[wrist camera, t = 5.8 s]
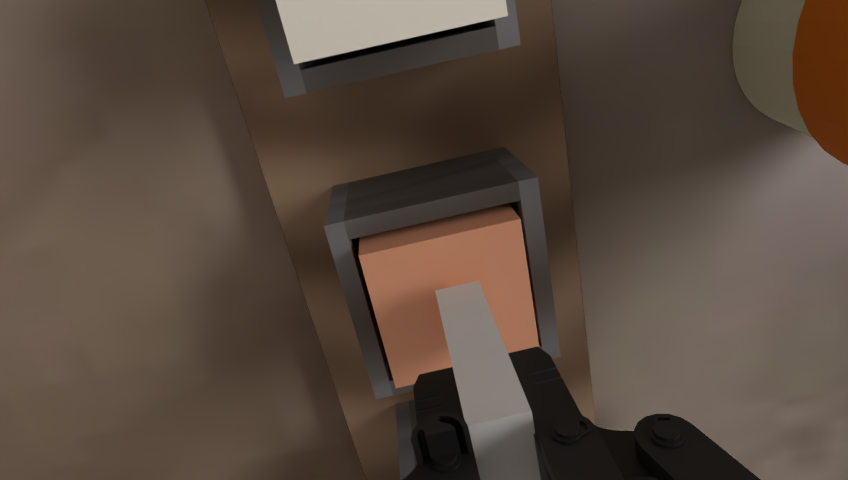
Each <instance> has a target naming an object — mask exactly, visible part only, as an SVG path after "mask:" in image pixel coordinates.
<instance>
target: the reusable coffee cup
mask: <svg viewBox="0 0 848 480" xmlns="http://www.w3.org/2000/svg"><path fill="white" fill-rule="evenodd" d="M732 51H733V65H734V69H735V73H736V77H737V80H738V83H739V85H740V87H741V89H742V91H743V93H744V95H745V96H746V98H747V99H748V100H749V101H750V102H751V103H752V105H753V106H754V107H755V108H756V109H757V110H759V111H760V112H762V113H763V114H765V115H766V116H768V117H769V118H771V119H773V120H775V121H778V122H780V123H782V124H785V125H787V126H789V127H791V128H794V129H796V130H798V131H800V132H803V133H805V134H807V135H809V136H812V137H813V138H814V139H815V140H816V141H817V142H818V144H819V145H820V146H821V147H822V148H823V149H824V151H826V152H827V153H829V154H830V155H832V156H833V157H835V158H836V159H838V160H839V161H841V162H842V163H844V164H846V165H848V0H742V1H741V4H740V8H739V11H738V14H737V18H736V21H735V26H734V34H733V42H732Z"/></svg>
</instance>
